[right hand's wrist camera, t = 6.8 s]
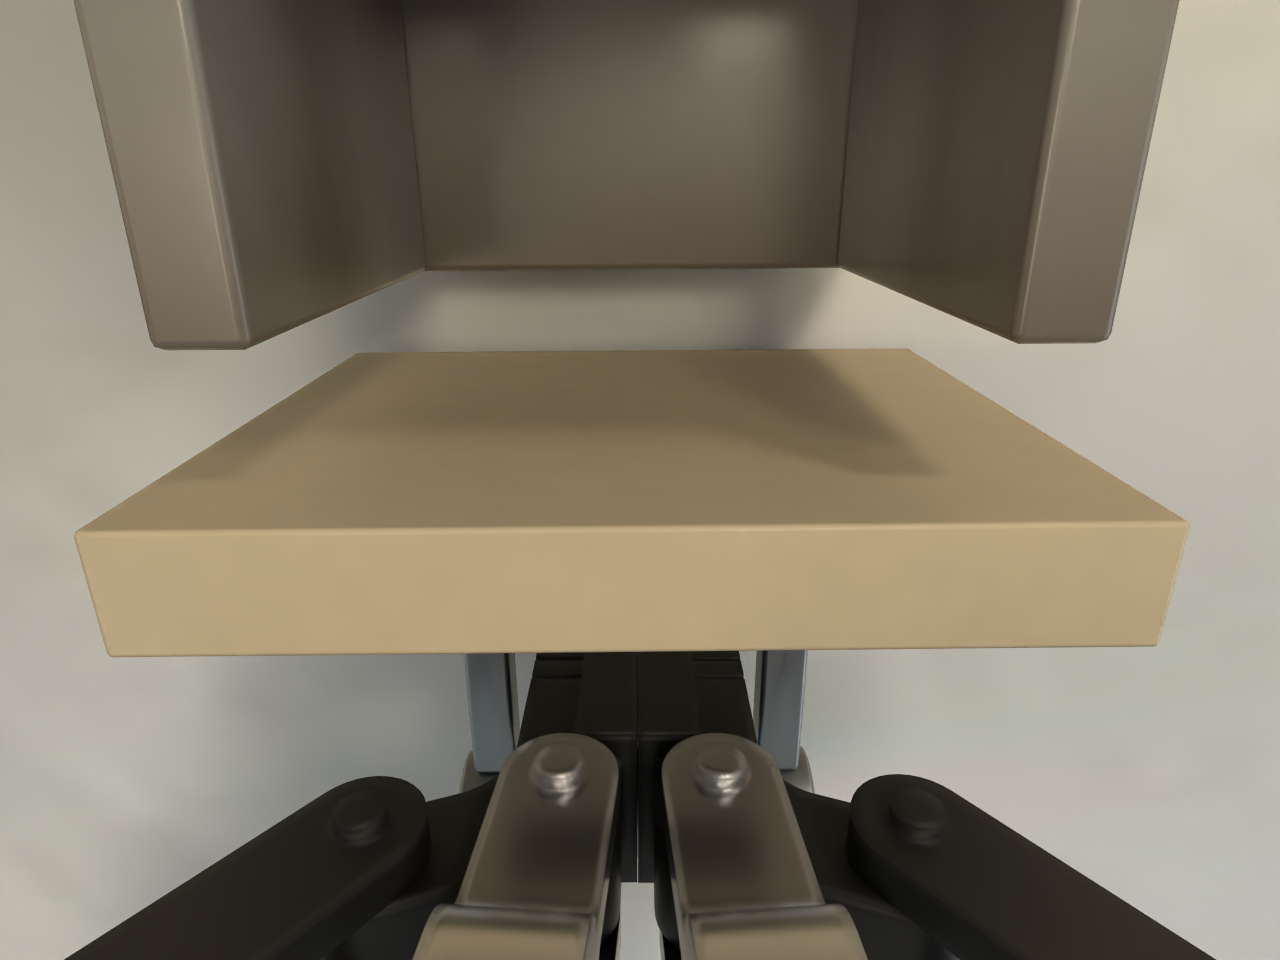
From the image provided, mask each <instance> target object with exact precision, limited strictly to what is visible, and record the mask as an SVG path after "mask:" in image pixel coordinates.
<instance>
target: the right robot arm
mask: <svg viewBox="0 0 1280 960" xmlns="http://www.w3.org/2000/svg"><path fill="white" fill-rule="evenodd" d="M637 804H638V883H654V906H655V917H656V920H657V924H658V926H659V928H660V951H661V960H958V959H959V960H1216V959H1214V958H1213V957H1211V956H1209V955H1208V954H1206V953H1205V952H1203V951H1202V950H1200V949H1198V948H1197V947H1195V946H1194V945H1192V944H1191V943H1189V942H1188V941H1186V940H1184V939H1183V938H1181V937H1180V936H1178V935H1177V934H1175V933H1173V932H1172V931H1170V930H1169V929H1167V928H1166V927H1164V926H1162V925H1161V924H1159V923H1158V922H1156V921H1155V920H1153V919H1152V918H1150V917H1148V916H1147V915H1145V914H1144V913H1142V912H1141V911H1139V910H1137V909H1136V908H1134V907H1133V906H1131V905H1130V904H1128V903H1126V902H1125V901H1123V900H1122V899H1120V898H1119V897H1117V896H1116V895H1114V894H1112V893H1111V892H1109V891H1108V890H1106V889H1105V888H1103V887H1101V886H1100V885H1098V884H1097V883H1095V882H1094V881H1092V880H1090V879H1089V878H1087V877H1086V876H1084V875H1083V874H1081V873H1079V872H1078V871H1076V870H1075V869H1073V868H1072V867H1070V866H1069V865H1067V864H1065V863H1064V862H1062V861H1061V860H1059V859H1058V858H1056V857H1054V856H1053V855H1051V854H1050V853H1048V852H1047V851H1045V850H1043V849H1042V848H1040V847H1039V846H1037V845H1036V844H1034V843H1033V842H1031V841H1029V840H1028V839H1026V838H1025V837H1023V836H1022V835H1020V834H1018V833H1017V832H1015V831H1014V830H1012V829H1011V828H1009V827H1007V826H1006V825H1004V824H1003V823H1001V822H1000V821H998V820H996V819H995V818H993V817H992V816H990V815H989V814H987V813H986V812H984V811H982V810H981V809H979V808H978V807H976V806H975V805H973V804H971V803H970V802H968V801H967V800H965V799H964V798H962V797H960V796H959V795H957V794H956V793H954V792H953V791H951V790H949V789H947V788H946V787H944V786H942V785H940V784H938V783H935V782H933V781H931V780H927V779H924V778H921V777H916V776H911V775H902V774H892V775H884V776H879V777H876V778H873V779H870V780H869V781H867V782H865V783H863V784H862V785H861V786H860V787H859V788H858V789H857V790H856V792H855V793H854V795H853V797H852V800H851V803H849V802H845V801H841V800H837V799H833V798H829V797H825V796H821V795H817V794H814V793H811V792H807V791H805V790H802V789H800V788H798V787H795V786H794V785H792V784H790V783H788V782H786V781H785V780H784V779H782V776H781V773H780V770H779V768H778V765H777V763H776V761H775V760H774V759H773V757H772V756H771V755H770V754H769V753H768V752H767V751H766V750H765V749H764V748H762V747H761V746H759V745H758V743H757V738H756V733H755V728H754V724H753V719H752V714H751V709H750V704H749V699H748V694H747V689H746V684H745V679H744V677H743V669H742V665H741V661H740V655H739V651H653V652H557V653H537V655H536V660H535V664H534V669H533V674H532V679H531V683H530V688H529V692H528V697H527V702H526V706H525V711H524V716H523V721H522V725H521V730H520V735H519V739H518V744H517V748H516V749H515V750H514V751H513V752H512V753H511V754H510V755H509V756H508V758H507V759H506V761H505V762H504V764H503V766H502V768H501V771H500V773H499V774H498V775H496V776H495V777H494V778H492V779H491V780H490V781H488V782H486V783H484V784H482V785H481V786H479V787H476V788H474V789H472V790H469V791H466V792H463V793H460V794H456V795H452V796H448V797H444V798H440V799H436V800H432V801H428V802H426V801H425V798H424V796H423V795H422V793H421V792H420V790H419V789H417V788H416V787H415V786H414V785H413V784H411V783H409V782H407V781H405V780H402V779H399V778H394V777H388V776H374V777H365V778H360V779H356V780H353V781H350V782H346V783H344V784H342V785H339V786H337V787H335V788H333V789H331V790H330V791H328V792H326V793H324V794H323V795H321V796H320V797H318V798H317V799H315V800H313V801H312V802H310V803H309V804H307V805H306V806H304V807H303V808H301V809H299V810H298V811H296V812H295V813H293V814H292V815H290V816H288V817H287V818H285V819H284V820H282V821H281V822H279V823H277V824H276V825H274V826H273V827H271V828H270V829H268V830H266V831H265V832H263V833H262V834H260V835H259V836H257V837H256V838H254V839H252V840H251V841H249V842H248V843H246V844H245V845H243V846H241V847H240V848H238V849H237V850H235V851H234V852H232V853H230V854H229V855H227V856H226V857H224V858H223V859H221V860H219V861H218V862H216V863H215V864H213V865H212V866H210V867H209V868H207V869H205V870H204V871H202V872H201V873H199V874H198V875H196V876H194V877H193V878H191V879H190V880H188V881H187V882H185V883H183V884H182V885H180V886H179V887H177V888H176V889H174V890H172V891H171V892H169V893H168V894H166V895H165V896H163V897H162V898H160V899H158V900H157V901H155V902H154V903H152V904H151V905H149V906H147V907H146V908H144V909H143V910H141V911H140V912H138V913H136V914H135V915H133V916H132V917H130V918H129V919H127V920H126V921H124V922H122V923H121V924H119V925H118V926H116V927H115V928H113V929H111V930H110V931H108V932H107V933H105V934H104V935H102V936H100V937H99V938H97V939H96V940H94V941H93V942H91V943H89V944H88V945H86V946H85V947H83V948H82V949H80V950H79V951H77V952H75V953H74V954H72V955H71V956H69V957H68V958H66V959H64V960H619V954H620V942H621V929H620V902H621V882H637ZM957 958H958V959H957Z"/></svg>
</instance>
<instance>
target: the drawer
mask: <svg viewBox="0 0 1280 960" xmlns="http://www.w3.org/2000/svg"><path fill="white" fill-rule="evenodd" d="M74 3H75V8H76V12H77V17H78V21H79V26H80V30H81V34H82V39H83V43H84V48H85V52H86V57H87V61H88V65H89V70H90V74H91V79H92V83H93V88H94V92H95V96H96V101H97V105H98V110H99V114H100V119H101V123H102V127H103V132H104V136H105V141H106V145H107V150H108V154H109V158H110V163H111V167H112V172H113V176H114V181H115V185H116V189H117V194H118V198H119V203H120V207H121V212H122V216H123V221H124V225H125V229H126V234H127V238H128V243H129V247H130V252H131V256H132V260H133V265H134V269H135V274H136V278H137V283H138V287H139V291H140V296H141V300H142V305H143V309H144V314H145V318H146V322H147V327H148V331H149V336H150V340H151V342H152V343H153V345H154V346H155V347H158V348H161V349H164V350H245V349H247V348H249V347H252V346H254V345H256V344H258V343H261V342H263V341H265V340H268V339H270V338H272V337H274V336H277V335H279V334H281V333H283V332H286V331H288V330H290V329H292V328H295V327H297V326H299V325H302V324H304V323H306V322H308V321H311V320H313V319H315V318H317V317H320V316H322V315H324V314H326V313H329V312H331V311H333V310H336V309H338V308H340V307H342V306H345V305H347V304H349V303H351V302H354V301H356V300H358V299H360V298H363V297H365V296H367V295H370V294H372V293H374V292H376V291H379V290H381V289H383V288H385V287H388V286H390V285H392V284H394V283H397V282H399V281H401V280H404V279H406V278H408V277H410V276H413V275H415V274H417V273H419V272H422V271H467V270H609V269H750V268H842V269H845V270H847V271H849V272H852V273H854V274H856V275H859V276H861V277H863V278H866V279H868V280H870V281H873V282H875V283H877V284H880V285H882V286H884V287H887V288H889V289H891V290H894V291H896V292H898V293H901V294H903V295H905V296H908V297H910V298H912V299H915V300H917V301H919V302H922V303H924V304H927V305H929V306H931V307H934V308H936V309H938V310H941V311H943V312H945V313H948V314H950V315H952V316H955V317H957V318H959V319H962V320H964V321H966V322H969V323H971V324H973V325H976V326H978V327H980V328H983V329H985V330H987V331H990V332H992V333H994V334H997V335H999V336H1001V337H1004V338H1006V339H1009V340H1011V341H1013V342H1016V343H1018V344H1046V343H1098V342H1101V341H1104V340H1107V339H1108V337H1109V336H1110V334H1111V331H1112V326H1113V321H1114V317H1115V312H1116V307H1117V302H1118V297H1119V292H1120V287H1121V282H1122V277H1123V273H1124V268H1125V263H1126V258H1127V253H1128V248H1129V243H1130V238H1131V234H1132V229H1133V224H1134V219H1135V214H1136V209H1137V204H1138V199H1139V195H1140V190H1141V185H1142V180H1143V175H1144V170H1145V165H1146V160H1147V155H1148V151H1149V146H1150V141H1151V136H1152V131H1153V126H1154V121H1155V116H1156V112H1157V107H1158V102H1159V97H1160V92H1161V87H1162V82H1163V77H1164V73H1165V68H1166V63H1167V58H1168V53H1169V48H1170V43H1171V38H1172V33H1173V29H1174V24H1175V19H1176V14H1177V9H1178V4H1179V0H74ZM1188 530H1189V523H1188V521H1186V520H1185V519H1183V518H1182V517H1180V516H1178V515H1177V514H1175V513H1173V512H1172V511H1170V510H1169V509H1167V508H1165V507H1164V506H1162V505H1160V504H1159V503H1157V502H1156V501H1154V500H1152V499H1151V498H1149V497H1147V496H1146V495H1144V494H1143V493H1141V492H1139V491H1138V490H1136V489H1134V488H1133V487H1131V486H1130V485H1128V484H1126V483H1125V482H1123V481H1121V480H1120V479H1118V478H1117V477H1115V476H1113V475H1112V474H1110V473H1109V472H1107V471H1105V470H1104V469H1102V468H1100V467H1099V466H1097V465H1096V464H1094V463H1092V462H1091V461H1089V460H1087V459H1086V458H1084V457H1083V456H1081V455H1079V454H1078V453H1076V452H1074V451H1073V450H1071V449H1070V448H1068V447H1066V446H1065V445H1063V444H1061V443H1060V442H1058V441H1057V440H1055V439H1053V438H1052V437H1050V436H1048V435H1047V434H1045V433H1044V432H1042V431H1040V430H1039V429H1037V428H1036V427H1034V426H1032V425H1031V424H1029V423H1027V422H1026V421H1024V420H1023V419H1021V418H1019V417H1018V416H1016V415H1014V414H1013V413H1011V412H1010V411H1008V410H1006V409H1005V408H1003V407H1001V406H1000V405H998V404H997V403H995V402H993V401H992V400H990V399H988V398H987V397H985V396H984V395H982V394H980V393H979V392H977V391H975V390H974V389H972V388H971V387H969V386H967V385H966V384H964V383H962V382H961V381H959V380H958V379H956V378H954V377H953V376H951V375H950V374H948V373H946V372H945V371H943V370H941V369H940V368H938V367H937V366H935V365H933V364H932V363H930V362H928V361H927V360H925V359H924V358H922V357H920V356H919V355H917V354H915V353H914V352H912V351H911V350H909V349H787V350H658V351H529V352H400V353H357V354H355V355H353V356H352V357H350V358H349V359H347V360H346V361H344V362H342V363H341V364H339V365H338V366H336V367H334V368H333V369H331V370H330V371H328V372H327V373H325V374H323V375H322V376H320V377H319V378H317V379H316V380H314V381H312V382H311V383H309V384H308V385H306V386H305V387H303V388H301V389H300V390H298V391H297V392H295V393H294V394H292V395H290V396H289V397H287V398H286V399H284V400H283V401H281V402H279V403H278V404H276V405H275V406H273V407H271V408H270V409H268V410H267V411H265V412H264V413H262V414H260V415H259V416H257V417H256V418H254V419H253V420H251V421H249V422H248V423H246V424H245V425H243V426H242V427H240V428H238V429H237V430H235V431H234V432H232V433H231V434H229V435H227V436H226V437H224V438H223V439H221V440H219V441H218V442H216V443H215V444H213V445H212V446H210V447H208V448H207V449H205V450H204V451H202V452H201V453H199V454H197V455H196V456H194V457H193V458H191V459H190V460H188V461H186V462H185V463H183V464H182V465H180V466H179V467H177V468H175V469H174V470H172V471H171V472H169V473H167V474H166V475H164V476H163V477H161V478H160V479H158V480H156V481H155V482H153V483H152V484H150V485H149V486H147V487H145V488H144V489H142V490H141V491H139V492H138V493H136V494H134V495H133V496H131V497H130V498H128V499H127V500H125V501H123V502H122V503H120V504H119V505H117V506H115V507H114V508H112V509H111V510H109V511H108V512H106V513H104V514H103V515H101V516H100V517H98V518H97V519H95V520H93V521H92V522H90V523H89V524H87V525H86V526H84V527H82V528H81V529H79V530H78V531H76V533H75V536H74V538H75V542H76V545H77V549H78V552H79V556H80V559H81V563H82V566H83V570H84V573H85V577H86V580H87V584H88V587H89V591H90V594H91V598H92V601H93V605H94V608H95V612H96V615H97V619H98V622H99V626H100V629H101V633H102V636H103V640H104V643H105V647H106V651H107V654H108V655H109V656H111V657H170V656H267V655H364V654H460V653H464V664H465V674H466V684H467V694H468V704H469V714H470V724H471V734H472V744H473V750H471V751H470V752H469V754H468V757H467V759H466V762H465V765H464V769H463V774H462V779H461V786H460V793H463V792H466V791H469V790H472V789H474V788H476V787H479V786H481V785H482V784H484V783H486V782H488V781H490V780H491V779H492V778H494V777H495V776H496V775H498V774H499V773H500V771H501V768H502V766H503V764H504V762H505V761H506V759H507V758H508V756H509V755H510V754H511V753H512V752H513V751H514V750H515V749H516V748H517V744H518V739H519V735H520V722H519V708H518V694H517V680H516V667H515V653H557V652H653V651H750V650H757V656H756V674H755V693H754V711H753V724H754V728H755V733H756V738H757V743H758V745H759V746H761V747H762V748H764V749H765V750H766V751H767V752H768V753H769V754H770V755H771V756H772V757H773V759H774V760H775V761H776V763H777V765H778V768H779V770H780V773H781V776H782V779H784V780H785V781H786V782H788V783H790V784H792V785H794V786H795V787H798V788H800V789H802V790H805V791H807V792H811V793H814V786H813V779H812V773H811V769H810V764H809V761H808V758H807V755H806V753H805V751H804V749H803V747H801V746H800V738H801V726H802V713H803V701H804V688H805V676H806V664H807V651H808V650H847V649H943V648H1040V647H1137V646H1156V645H1157V644H1158V643H1159V641H1160V637H1161V633H1162V629H1163V626H1164V622H1165V618H1166V614H1167V610H1168V607H1169V603H1170V599H1171V595H1172V591H1173V588H1174V584H1175V580H1176V576H1177V572H1178V569H1179V565H1180V561H1181V557H1182V553H1183V549H1184V546H1185V542H1186V538H1187V534H1188ZM637 857H638V804H637Z"/></svg>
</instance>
